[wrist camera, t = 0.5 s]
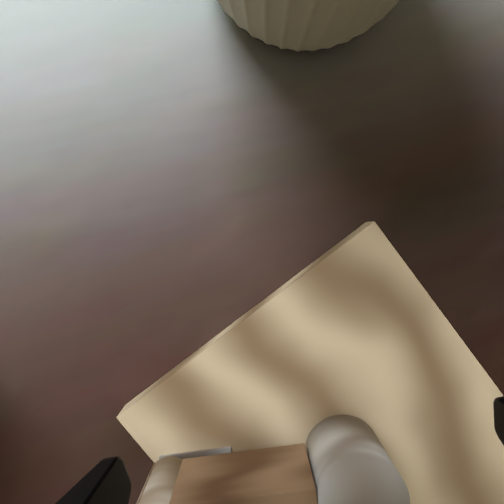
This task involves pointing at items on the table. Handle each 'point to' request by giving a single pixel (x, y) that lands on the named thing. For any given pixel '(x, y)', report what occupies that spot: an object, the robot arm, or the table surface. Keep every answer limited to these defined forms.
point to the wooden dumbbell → (286, 472)
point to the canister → (306, 20)
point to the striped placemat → (338, 377)
